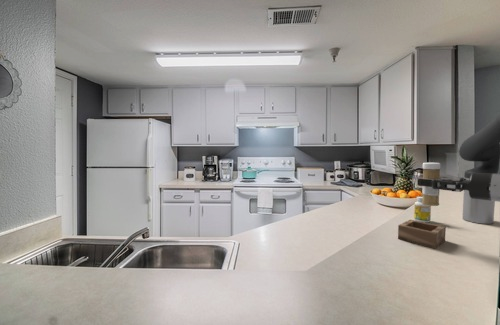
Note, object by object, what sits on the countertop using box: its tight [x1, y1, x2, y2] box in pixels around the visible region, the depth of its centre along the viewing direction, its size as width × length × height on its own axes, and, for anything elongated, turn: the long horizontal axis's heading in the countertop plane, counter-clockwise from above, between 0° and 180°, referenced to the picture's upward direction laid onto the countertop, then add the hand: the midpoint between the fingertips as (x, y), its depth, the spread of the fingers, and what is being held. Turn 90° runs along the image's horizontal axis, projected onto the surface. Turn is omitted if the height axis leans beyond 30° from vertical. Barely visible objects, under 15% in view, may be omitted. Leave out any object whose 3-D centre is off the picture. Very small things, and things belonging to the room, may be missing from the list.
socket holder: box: [397, 219, 446, 249], centre depth 79 cm, size 10×10×4 cm
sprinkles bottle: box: [421, 162, 441, 207], centre depth 77 cm, size 5×5×14 cm
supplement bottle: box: [413, 196, 432, 223], centre depth 99 cm, size 5×5×10 cm
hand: (420, 181), depth 79 cm, fingers closed on sprinkles bottle, 4 cm apart
